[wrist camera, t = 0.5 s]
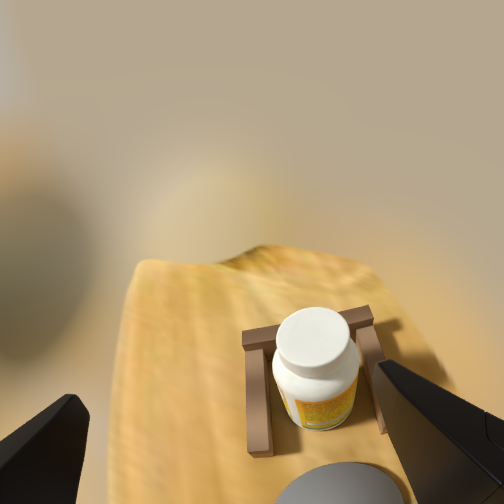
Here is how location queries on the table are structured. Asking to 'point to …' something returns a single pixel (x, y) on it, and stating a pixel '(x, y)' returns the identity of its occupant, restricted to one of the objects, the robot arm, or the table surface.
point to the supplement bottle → (316, 368)
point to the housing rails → (263, 349)
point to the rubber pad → (342, 486)
